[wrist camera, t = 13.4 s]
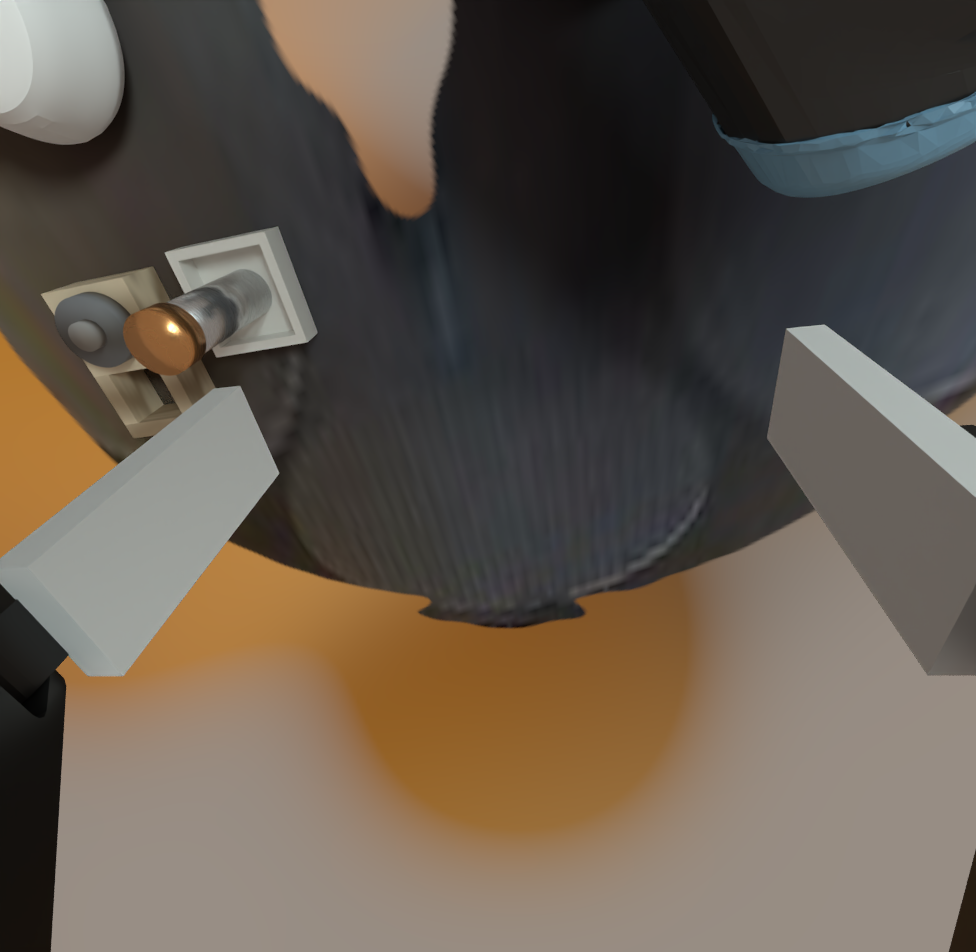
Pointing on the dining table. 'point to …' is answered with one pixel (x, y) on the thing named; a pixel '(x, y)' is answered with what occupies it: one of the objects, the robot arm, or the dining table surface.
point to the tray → (273, 264)
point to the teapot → (59, 69)
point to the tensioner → (123, 347)
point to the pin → (195, 321)
